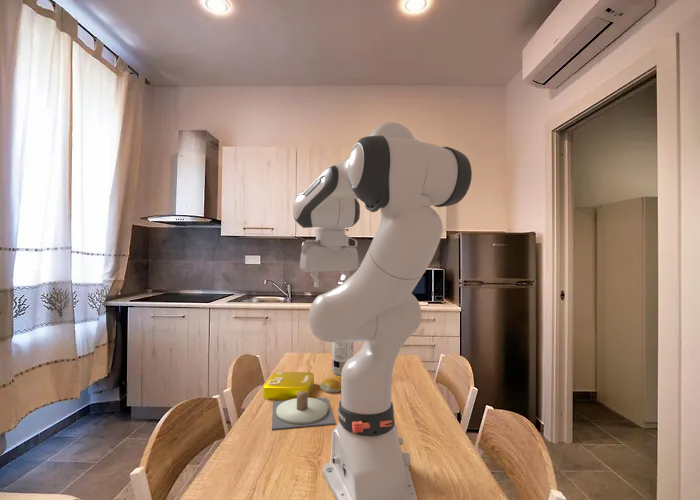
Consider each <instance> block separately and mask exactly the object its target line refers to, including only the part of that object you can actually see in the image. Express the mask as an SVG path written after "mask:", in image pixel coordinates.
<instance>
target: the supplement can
mask: <svg viewBox="0 0 700 500" xmlns="http://www.w3.org/2000/svg"><path fill="white" fill-rule="evenodd" d="M352 356H354V342H348V343H336V342H332V362H331V363H332V367H331V368H332V370H331V371H332V372H333V374H335V376H339V377H341V372H342V368H343V366H344V364H345V363H346V361H347V360H348V359H350V358H351V357H352Z"/></svg>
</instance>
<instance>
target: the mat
mask: <svg viewBox="0 0 700 500" xmlns="http://www.w3.org/2000/svg"><path fill="white" fill-rule="evenodd" d="M314 399H318V400H321V401H323V402H324V403H326V405H327V407H328V412H327V414H326V416H325V417H323V418H322V419H320V420H318V421H315V422H312V423H307V424H291V423H286V422H284V421H281V420H280V419H279V418H278V417H277V416H276V409H277V407H278V406H279V405H280V404H281V403H283V402H285V401H286V400H276V401H275V400H274V401H272V416H271V417H272V419H271V420H272V423H271V430H272V431H274V430H276V431H277V430H287V429H288V430H289V429H297V428H308V427H319V426H321V427H322V426H331V425H336V421H335V418H334V415H333V412H332V409H331V407H330V403H329V400H328V397H318V398H317V397H315V398H314Z"/></svg>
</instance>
